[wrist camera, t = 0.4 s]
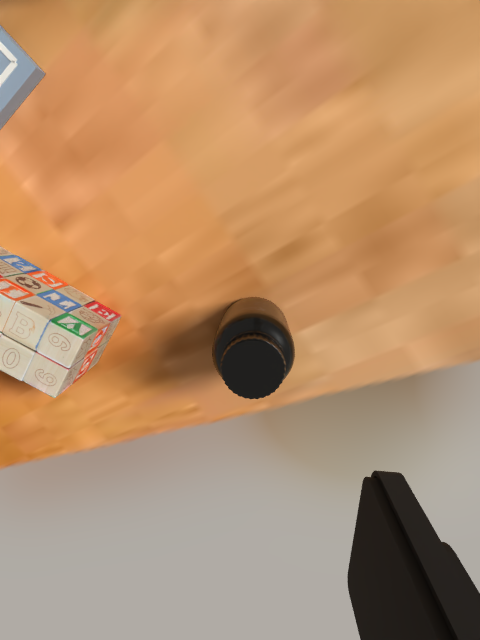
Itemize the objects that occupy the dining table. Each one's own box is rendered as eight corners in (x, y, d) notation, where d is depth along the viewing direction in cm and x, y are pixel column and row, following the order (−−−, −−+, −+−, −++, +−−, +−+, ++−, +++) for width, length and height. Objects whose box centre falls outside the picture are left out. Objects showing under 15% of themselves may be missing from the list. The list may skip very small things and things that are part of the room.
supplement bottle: (295, 349, 40) (310, 401, 28) (232, 366, 41) (221, 423, 29) (277, 286, 38) (285, 313, 27) (212, 305, 39) (192, 339, 27)
